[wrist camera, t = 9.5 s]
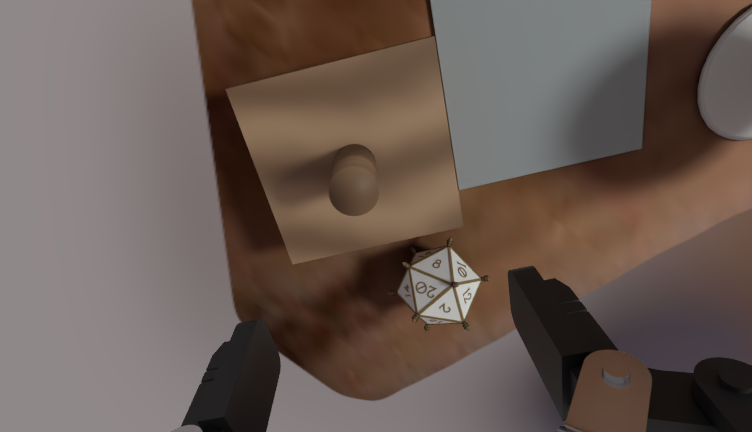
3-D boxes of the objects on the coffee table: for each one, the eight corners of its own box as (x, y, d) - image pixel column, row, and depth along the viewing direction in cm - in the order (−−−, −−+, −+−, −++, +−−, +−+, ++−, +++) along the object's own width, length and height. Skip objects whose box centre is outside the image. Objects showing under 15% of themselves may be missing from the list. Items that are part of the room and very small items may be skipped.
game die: (412, 255, 45) (361, 315, 39) (436, 204, 39) (381, 264, 33) (480, 302, 43) (440, 374, 36) (517, 254, 37) (476, 330, 30)
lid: (229, 87, 29) (193, 104, 23) (432, 36, 28) (453, 38, 22) (294, 258, 35) (280, 308, 29) (460, 221, 34) (483, 265, 28)
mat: (428, -11, 31) (428, -12, 30) (653, -70, 29) (655, -71, 29) (458, 188, 38) (459, 190, 38) (639, 147, 37) (641, 148, 36)
